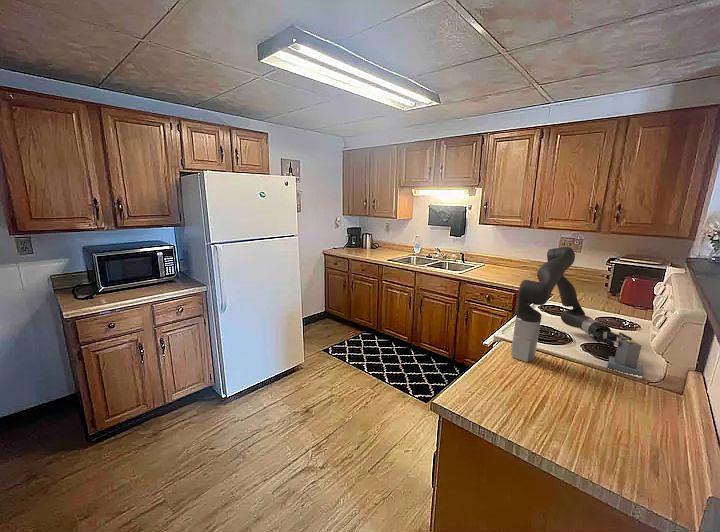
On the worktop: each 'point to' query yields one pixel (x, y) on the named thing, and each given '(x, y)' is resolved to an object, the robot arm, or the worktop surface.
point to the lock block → (627, 353)
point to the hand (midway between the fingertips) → (623, 345)
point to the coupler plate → (625, 368)
